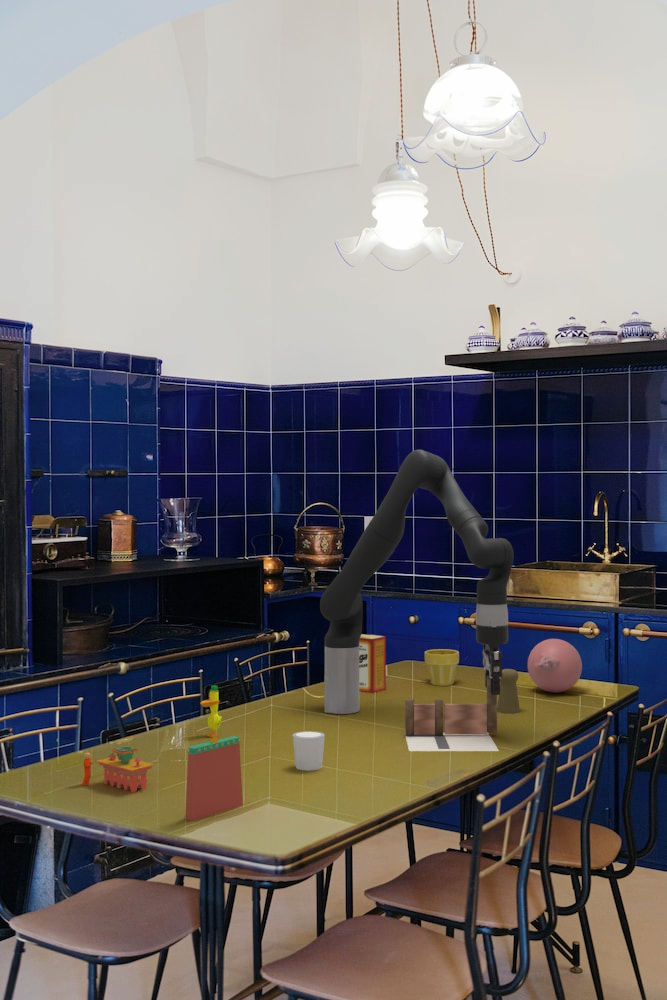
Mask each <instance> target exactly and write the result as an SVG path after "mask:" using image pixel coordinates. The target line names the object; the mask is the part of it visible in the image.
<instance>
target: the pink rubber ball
mask: <svg viewBox="0 0 667 1000" xmlns="http://www.w3.org/2000/svg"><path fill="white" fill-rule="evenodd" d="M582 663H583V661H582V658H581V655H580V654H579V651H578V650H577V649H576V648H575V647H574V645H572V644H571V643H569V642H568V641H565V640H563V639H559V638H548V639H545V640H542V641H541V642H539V643H537V644H536V645H535V646H534V647H533V649H532V650H530V654H529V656H528V658H527V672H528V674H529V677H530V679H531V681H532V682H533V683H534V685H535V686H536V687H537V688H539V689H541V690H543V691H545V692H547V693H552V694H553V693H555V694H557V693H558V694H559V693H562V692H565V691H568V690H570V689H572V688H573V687H574V686H575V685H577V684H576V683H578V682H579V679H580V677H581V674H582V671H583V664H582Z"/></svg>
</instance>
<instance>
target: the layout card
mask: <svg viewBox="0 0 667 1000" xmlns="http://www.w3.org/2000/svg"><path fill="white" fill-rule="evenodd" d="M404 737H405V740H406V744H407V745H406V746H407V748H408V752H499V751H500V750H499V749H498V747H497V745H496V744H495V741H494V740H493V739H492V737H491V735H490V733H487V734H444V732H443V736H435V734H414V736H405V735H404Z"/></svg>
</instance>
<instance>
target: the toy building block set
mask: <svg viewBox="0 0 667 1000" xmlns="http://www.w3.org/2000/svg"><path fill="white" fill-rule="evenodd" d="M240 739H241V737H239V736H235V735H234V736H228V737H224V738H220V739H218V738H217V736H216V737H215V736H213V737H211V739H210V740H208V741H206V742H204V743H200V744H199V743H198V744H195V745H192V746H187V749H188V751H187V754H188V755H187V769H186V771H187V772H186V791H185V794H186V795H185V811H184V813H185V816H184V819H185V820H188V821H191V822H195V821H197V820H200V819H203V818H206V817H211V816H213V815H216V814H219V813H222V812H223V813H224V812H226V811H229V810H232V809H235V808H238V807H241V806H243V804H244V800H243V799H244V798H243V784H242V783H243V781H242V765H241V746H240V743H241V741H240ZM138 751H139V749H138V748H135V747H132V746H127V745H125V746H120V747H116V748H114V749H111V752H112V753H111V754H110V755H109V756H108V757H107V758H103V759H98V760H96V762H97V764H98V765H100V766H102V767H103V768H104V771H103V772H104V778H103V779H104V781H103V782H104V785H106V786H107V785H110V786H111V787H116V788H117V789H123V790H124V791H130V792H131V793H135V792H138V791H137V790H138V788H139V789H140V790H143V791H144V790H147V772H148V770H150V769H153V766H155V764H153V763H149V762H147V761H146V762H145V761H143V760H141V758H140V757H136V758H135V759H134V758H133V756H134V754H135V753H137V752H138ZM114 753H116V755H115V754H114ZM91 757H92V754H91V753H90V752H85V753H84V754H83V758H84V760H83V767H84V768H83V771H84V777H83V780H82V782H81V785H82V786H89V785H90V780H91V776H92V775H91V773H92V768H91V766H92V765H93V763H94V760H92V759H91Z"/></svg>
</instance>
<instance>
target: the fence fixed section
mask: <svg viewBox="0 0 667 1000" xmlns="http://www.w3.org/2000/svg"><path fill="white" fill-rule="evenodd" d="M414 700H415V699H412V698H411V699H410V698H409V699H404V702H405V703H404V706H405V707H404V708H405V709H404V715H405V716H404V719H405V720H404V721H405V722H404V725H405V726H404V729H405V730H404V737H405V736H414V734H435V736H443V733H444V700H443V699H441V698H440V699H439V698H438V699H437V698H436V699H434V703H415V701H414Z"/></svg>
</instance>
